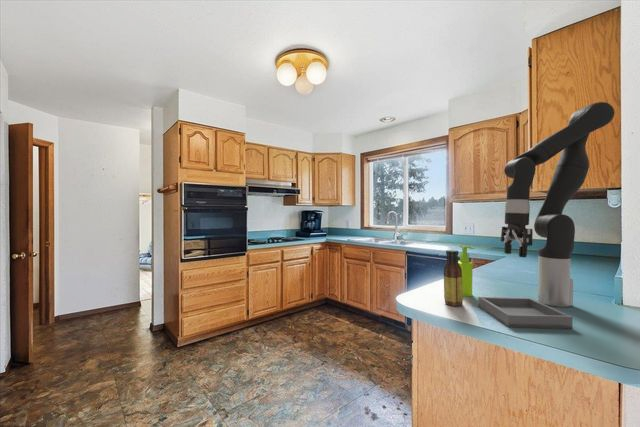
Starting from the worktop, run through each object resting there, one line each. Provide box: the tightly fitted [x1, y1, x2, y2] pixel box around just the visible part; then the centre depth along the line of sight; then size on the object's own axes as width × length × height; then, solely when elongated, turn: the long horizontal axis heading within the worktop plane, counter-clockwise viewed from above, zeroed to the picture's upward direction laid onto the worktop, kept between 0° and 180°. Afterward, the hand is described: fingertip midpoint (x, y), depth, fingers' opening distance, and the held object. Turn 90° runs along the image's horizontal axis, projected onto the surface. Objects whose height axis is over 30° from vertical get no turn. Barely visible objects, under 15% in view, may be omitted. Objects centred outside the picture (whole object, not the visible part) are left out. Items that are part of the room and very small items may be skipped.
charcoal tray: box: [477, 296, 573, 330], centre depth 92 cm, size 18×18×4 cm
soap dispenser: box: [458, 245, 476, 297], centre depth 117 cm, size 6×7×20 cm
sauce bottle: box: [443, 249, 464, 307], centre depth 104 cm, size 7×6×20 cm
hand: (514, 255), depth 106 cm, fingers open, 8 cm apart
